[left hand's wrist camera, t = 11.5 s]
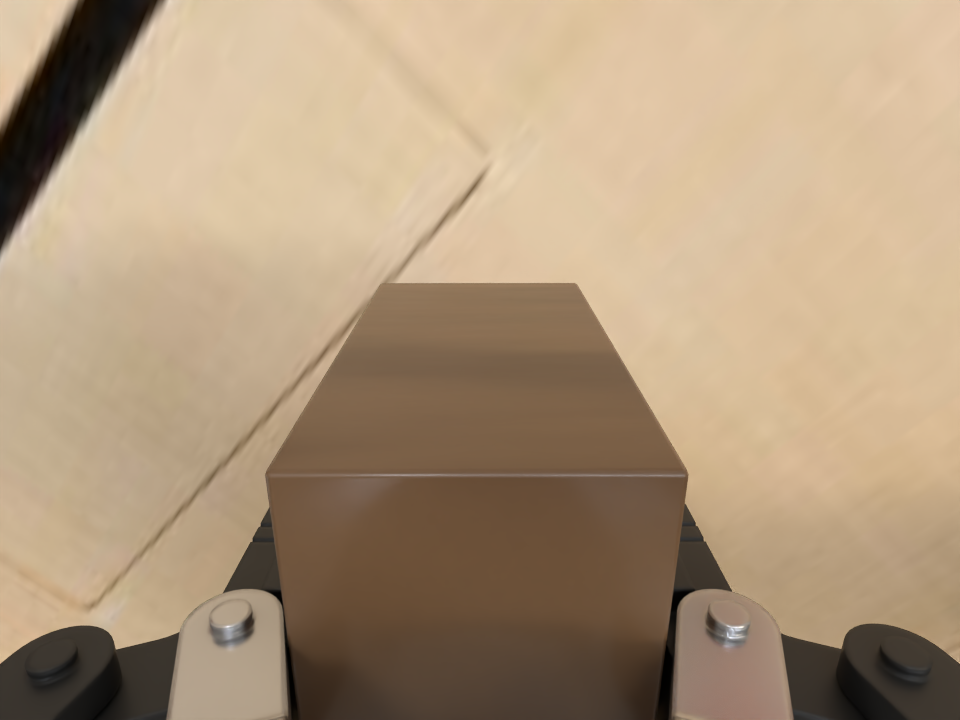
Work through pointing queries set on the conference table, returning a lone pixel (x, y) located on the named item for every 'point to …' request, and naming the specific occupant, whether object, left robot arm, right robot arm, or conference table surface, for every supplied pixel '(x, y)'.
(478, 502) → the bar
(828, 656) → the left robot arm
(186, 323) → the conference table surface
